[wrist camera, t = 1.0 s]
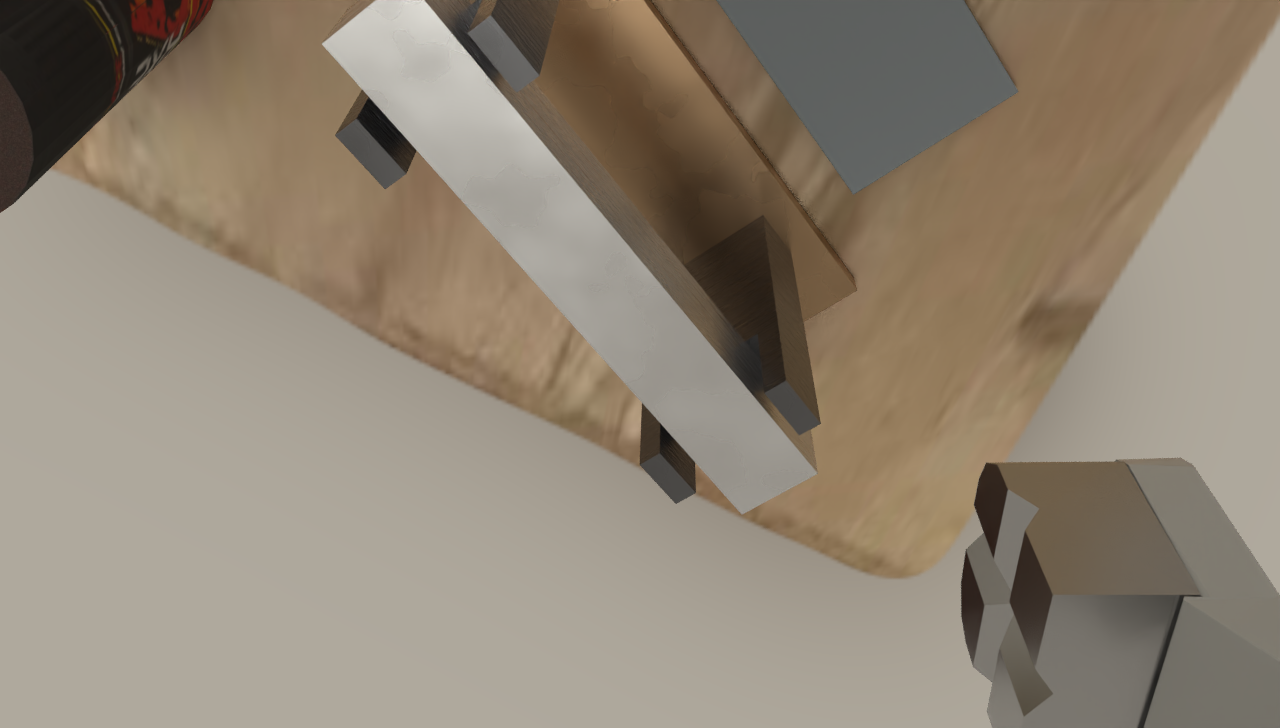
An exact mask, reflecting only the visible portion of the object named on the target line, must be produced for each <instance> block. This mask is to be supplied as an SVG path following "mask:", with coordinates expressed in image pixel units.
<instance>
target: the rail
mask: <svg viewBox="0 0 1280 728" xmlns="http://www.w3.org/2000/svg"><path fill="white" fill-rule="evenodd" d="M476 13H477V11H476V9H475V8H474V7H473V6H472V4H471V3H470V2H469V1H468V0H358V1H357V2H356V3H355V4H354V5H352V6H351V7H350V8H349V9H347V10H346V12H345V13H344V15H343V16H342V17H341V19H340V20H339V21H338V23H337V24H336V25H335V27H334V28H333V29H332V31H331V32H330V33H329V35H328V36H327V38H326V39H325V40H324V42H323V43H322V45H323V46H324V47H325V48H326V49H327V50H328V51H329V53H330V54H331V55H332V56H333V57H334V58H335V59H336V60H337V62H338V63H339V64H340V65H341V66H342V67H343V68H344V69H345V71H346V72H347V73H348V74H349V75H350V76H351V77H352V78H353V79H354V81H355V82H356V83H357V84H358V85H359V86H360V87H361V88H362V90H363V91H364V92H365V93H366V94H367V95H368V96H369V97H370V99H371V100H372V101H373V102H374V103H375V104H376V105H377V106H378V107H379V109H380V110H381V111H382V112H383V113H384V114H385V115H386V116H387V118H388V119H389V120H390V121H391V122H392V123H393V124H394V125H395V127H396V128H397V129H398V130H399V131H400V132H401V133H402V134H403V135H404V137H405V138H406V139H407V140H408V141H409V142H410V143H411V144H412V146H413V147H414V148H415V149H416V150H417V151H418V152H419V153H420V155H421V156H422V157H423V158H424V159H425V160H426V161H427V162H428V163H429V165H430V166H431V167H432V168H433V169H434V170H435V171H436V172H437V174H438V175H439V176H440V177H441V178H442V179H443V180H444V181H445V183H446V184H447V185H448V186H449V187H450V188H451V189H452V190H453V191H454V193H455V194H456V195H457V196H458V197H459V198H460V199H461V200H462V202H463V203H464V204H465V205H466V206H467V207H468V208H469V209H470V211H471V212H472V213H473V214H474V215H475V216H476V217H477V218H478V219H479V221H480V222H481V223H482V224H483V225H484V226H485V227H486V228H487V230H488V231H489V232H490V233H491V234H492V235H493V236H494V237H495V239H496V240H497V241H498V242H499V243H500V244H501V245H502V246H503V247H504V249H505V250H506V251H507V252H508V253H509V254H510V255H511V256H512V258H513V259H514V260H515V261H516V262H517V263H518V264H519V265H520V267H521V268H522V269H523V270H524V271H525V272H526V273H527V274H528V275H529V277H530V278H531V279H532V280H533V281H534V282H535V283H536V284H537V286H538V287H539V288H540V289H541V290H542V291H543V292H544V293H545V295H546V296H547V297H548V298H549V299H550V300H551V301H552V302H553V303H554V305H555V306H556V307H557V308H558V309H559V310H560V311H561V312H562V314H563V315H564V316H565V317H566V318H567V319H568V320H569V321H570V323H571V324H572V325H573V326H574V327H575V328H576V329H577V330H578V331H579V333H580V334H581V335H582V336H583V337H584V338H585V339H586V340H587V342H588V343H589V344H590V345H591V346H592V347H593V348H594V349H595V351H596V352H597V353H598V354H599V355H600V356H601V357H602V358H603V359H604V361H605V362H606V363H607V364H608V365H609V366H610V367H611V368H612V370H613V371H614V372H615V373H616V374H617V375H618V376H619V377H620V379H621V380H622V381H623V382H624V383H625V384H626V385H627V386H628V387H629V389H630V390H631V391H632V392H633V393H634V394H635V395H636V396H637V398H638V399H639V400H640V401H641V402H642V403H643V404H644V405H645V407H646V408H647V409H648V410H649V411H650V412H651V413H652V414H653V415H654V417H655V418H656V419H657V420H658V421H659V422H660V423H661V424H662V426H663V427H664V428H665V429H666V430H667V431H668V432H669V433H670V435H671V436H672V437H673V438H674V439H675V440H676V441H677V442H678V443H679V445H680V446H681V447H682V448H683V449H684V450H685V451H686V452H687V454H688V455H689V456H690V457H691V458H692V459H693V460H694V461H695V463H696V464H697V465H698V466H699V467H700V468H701V469H702V470H703V471H704V473H705V474H706V475H707V476H708V477H709V478H710V479H711V480H712V482H713V483H714V484H715V485H716V486H717V487H718V488H719V489H720V491H721V492H722V493H723V494H724V495H725V496H726V497H727V498H728V499H729V501H730V502H731V503H732V504H733V505H734V506H735V507H736V508H737V510H738V511H739V512H740V513H741V514H744V513H746V512H747V511H749V510H751V509H753V508H755V507H757V506H759V505H760V504H762V503H764V502H766V501H768V500H770V499H772V498H773V497H775V496H777V495H779V494H781V493H783V492H785V491H786V490H788V489H790V488H792V487H794V486H796V485H798V484H799V483H801V482H803V481H805V480H807V479H809V478H811V477H812V476H814V475H816V474H818V471H817V465H816V459H815V453H814V446H813V440H812V434H811V429H810V430H808V431H807V432H805V433H803V434H801V435H798V434H797V432H796V431H795V430H794V429H793V428H792V426H791V425H790V424H789V423H788V421H787V420H786V419H785V418H784V417H783V415H782V414H781V413H780V412H779V411H778V409H777V408H776V407H775V406H774V405H773V403H772V402H771V401H770V400H769V398H768V397H767V396H766V395H765V394H764V386H763V377H762V368H761V360H760V359H759V358H758V356H757V355H756V354H755V353H754V351H753V350H752V349H751V348H750V347H749V345H748V344H747V343H746V342H745V340H744V339H743V338H742V337H741V335H740V334H739V333H738V332H737V331H736V329H735V328H734V327H733V326H732V324H731V323H730V322H729V321H728V319H727V318H726V317H725V316H724V315H723V313H722V312H721V311H720V310H719V308H718V307H717V306H716V305H715V303H714V302H713V301H712V300H711V299H710V297H709V296H708V295H707V294H706V292H705V291H704V290H703V289H702V287H701V286H700V285H699V284H698V283H697V281H696V280H695V279H694V278H693V276H692V275H691V274H690V273H689V271H688V270H687V269H686V268H685V267H684V265H683V264H682V263H681V262H680V260H679V259H678V258H677V257H676V255H675V254H674V253H673V252H672V251H671V249H670V248H669V247H668V246H667V244H666V243H665V242H664V241H663V239H662V238H661V237H660V236H659V235H658V233H657V232H656V231H655V230H654V228H653V227H652V226H651V225H650V223H649V222H648V221H647V220H646V219H645V217H644V216H643V215H642V214H641V212H640V211H639V210H638V209H637V207H636V206H635V205H634V204H633V203H632V201H631V200H630V199H629V198H628V196H627V195H626V194H625V193H624V191H623V190H622V189H621V188H620V187H619V185H618V184H617V183H616V182H615V180H614V179H613V178H612V177H611V175H610V174H609V173H608V172H607V171H606V169H605V168H604V167H603V166H602V164H601V163H600V162H599V161H598V159H597V158H596V157H595V156H594V155H593V153H592V152H591V151H590V150H589V148H588V147H587V146H586V145H585V143H584V142H583V141H582V140H581V139H580V137H579V136H578V135H577V134H576V132H575V131H574V130H573V129H572V127H571V126H570V125H569V124H568V123H567V121H566V120H565V119H564V118H563V116H562V115H561V114H560V113H559V111H558V110H557V109H556V108H555V107H554V105H553V104H552V103H551V102H550V100H549V99H548V98H547V97H546V95H545V94H544V93H543V92H542V91H541V89H540V88H539V87H538V86H537V84H536V83H535V82H534V81H532V82H530V83H529V84H528V85H526V86H525V87H524V88H522V89H521V90H520V91H518V92H517V93H516V92H515V90H514V89H513V88H512V87H511V86H510V84H509V83H508V82H507V81H506V80H505V78H504V77H503V76H502V75H501V73H500V72H499V71H498V70H497V69H496V67H495V66H494V65H493V64H492V63H491V61H490V60H489V59H488V58H487V56H486V55H485V54H484V53H483V52H482V50H481V49H480V48H479V47H478V46H477V44H476V43H475V42H474V41H473V39H472V38H471V37H470V36H469V35H468V31H469V28H470V26H471V24H472V22H473V19H474V17H475V15H476Z"/></svg>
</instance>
